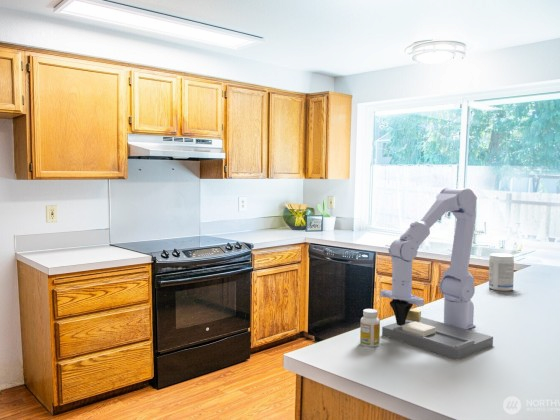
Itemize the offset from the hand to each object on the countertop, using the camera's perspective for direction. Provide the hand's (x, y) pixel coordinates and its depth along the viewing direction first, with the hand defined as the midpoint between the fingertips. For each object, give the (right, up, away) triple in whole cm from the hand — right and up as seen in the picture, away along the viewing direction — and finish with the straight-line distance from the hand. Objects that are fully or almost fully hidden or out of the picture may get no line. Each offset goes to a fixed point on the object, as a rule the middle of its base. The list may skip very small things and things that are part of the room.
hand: (400, 324), depth 145 cm
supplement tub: (+58, 0, +61) cm, 84 cm away
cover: (+4, -1, -5) cm, 7 cm away
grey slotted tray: (+9, -4, -4) cm, 11 cm away
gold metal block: (+5, 0, +4) cm, 6 cm away
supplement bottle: (-11, -4, -8) cm, 14 cm away
